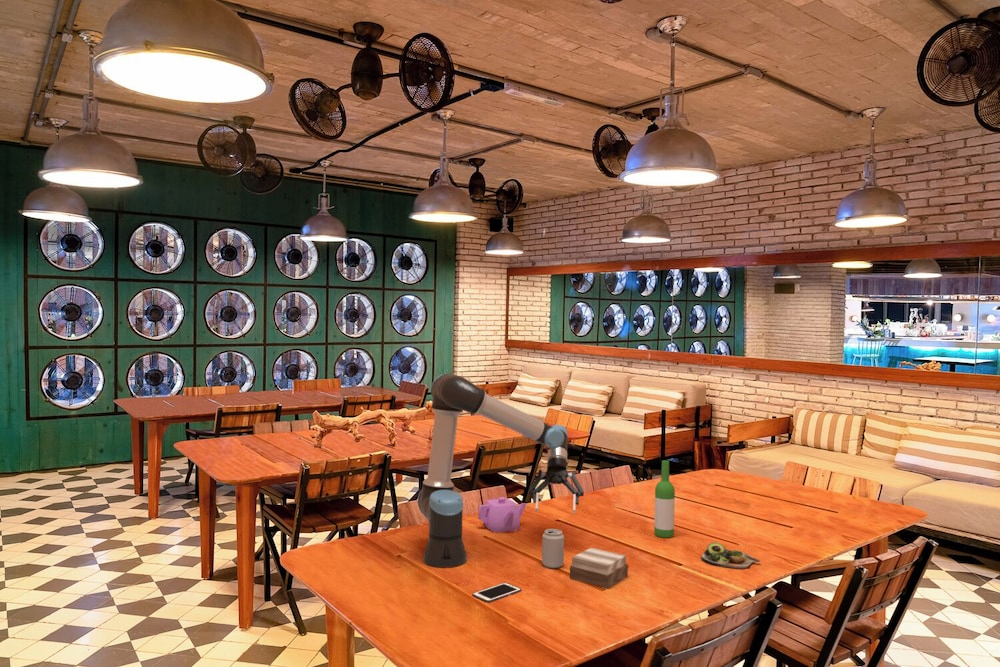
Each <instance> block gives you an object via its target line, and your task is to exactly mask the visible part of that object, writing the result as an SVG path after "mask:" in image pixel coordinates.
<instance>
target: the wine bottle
mask: <svg viewBox="0 0 1000 667" xmlns="http://www.w3.org/2000/svg"><path fill="white" fill-rule="evenodd" d="M654 489H655V490H654V522H653V523H654V528H653V529H654V530H653V531H654V532H653V533H654V535H655V536H656V537H659V538H662V539H668V538H672V537H674V535H675V504H676V503H675V500H676V498H675V496H676V495H675V493H676V492H675V491H676V489H675V487H674V484H673V483H672V482H671V481H670V460H665V459H664V460H661V476H660V481H659V482H657V483H656V485H655V488H654Z"/></svg>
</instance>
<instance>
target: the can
mask: <svg viewBox="0 0 1000 667" xmlns="http://www.w3.org/2000/svg"><path fill="white" fill-rule="evenodd" d="M541 540H542V542H541V544H542V545H541V550H542V551H541V563H542V565H543V566H544V567H545V568H549V569H559V568H561V567H562V566H564V564H565V563H564V562H565V557H564V556H565V535H564V534H563V531H562V530H561V529H557V528H547V529H545V530H544V533H543V534H542V539H541Z"/></svg>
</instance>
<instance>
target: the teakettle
mask: <svg viewBox="0 0 1000 667" xmlns="http://www.w3.org/2000/svg"><path fill="white" fill-rule="evenodd" d="M527 505H528V504H527V503H525V502H521V503H520V505H518V504H517V503H516V502H515V501H514V500H511V499H510V498H506V497H503V496H499V497H498V498H496V497H495V498H490V499H487V500H486V501H485V504H481V505H479V506H478V516H477V519H478V520H479V521H482V522H483V525H484V524H485V525H484V527H485V528H486V527H487V528H488V530H489V529H490V530H491V531H490V530H489V531H490V532H492V531H493V533H494V532H502V533H506V532H505V531H513V532H516V531H515V530H518V531H519V530H520V528H521V527H520V525H521V519H520V518H521V517H522V515H523V512H524V511H525V509H526V507H527ZM487 528H486V529H487Z"/></svg>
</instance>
